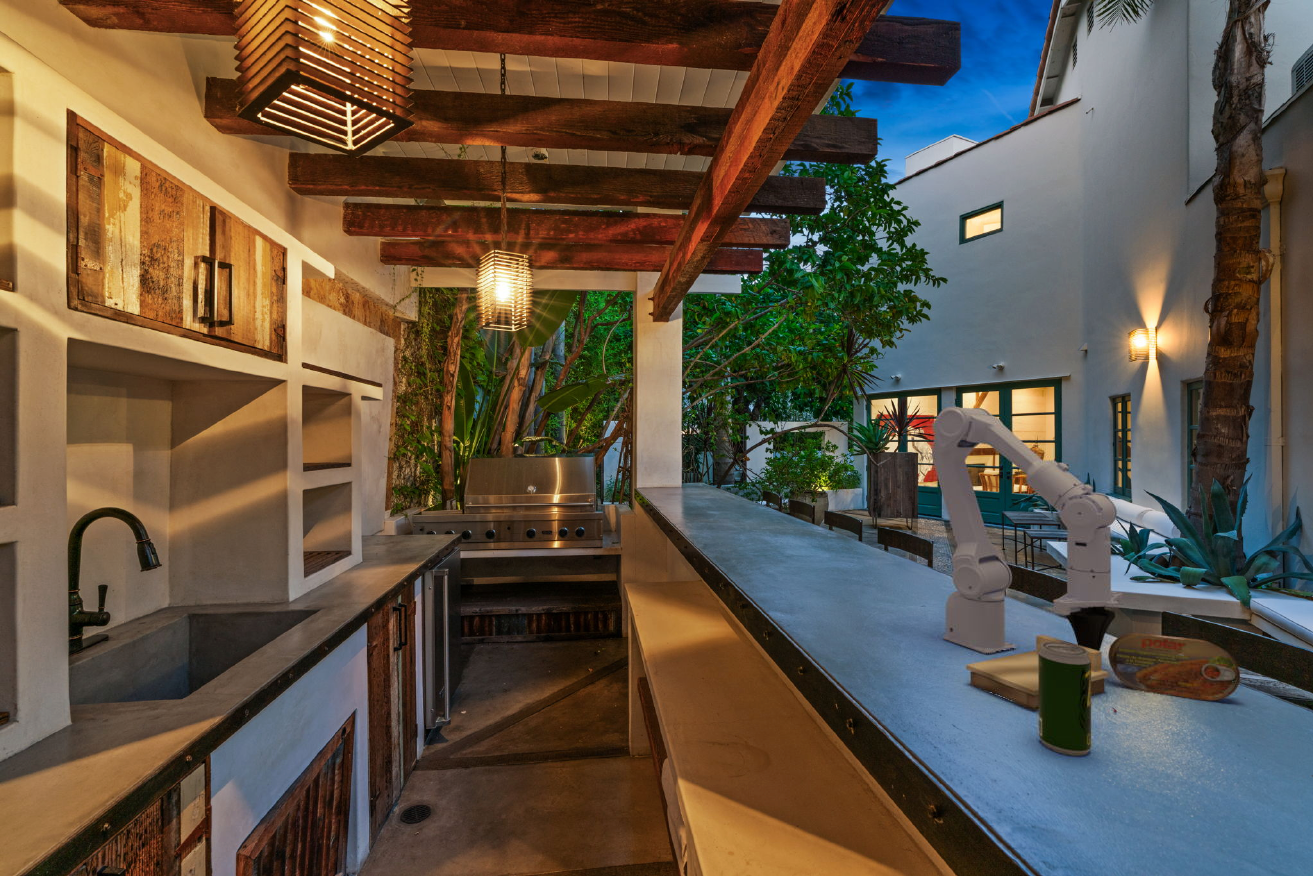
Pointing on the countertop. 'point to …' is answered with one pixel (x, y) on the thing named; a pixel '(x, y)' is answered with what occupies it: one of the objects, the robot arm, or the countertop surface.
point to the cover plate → (1029, 667)
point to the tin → (1174, 666)
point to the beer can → (1064, 698)
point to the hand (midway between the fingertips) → (1088, 654)
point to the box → (1018, 695)
